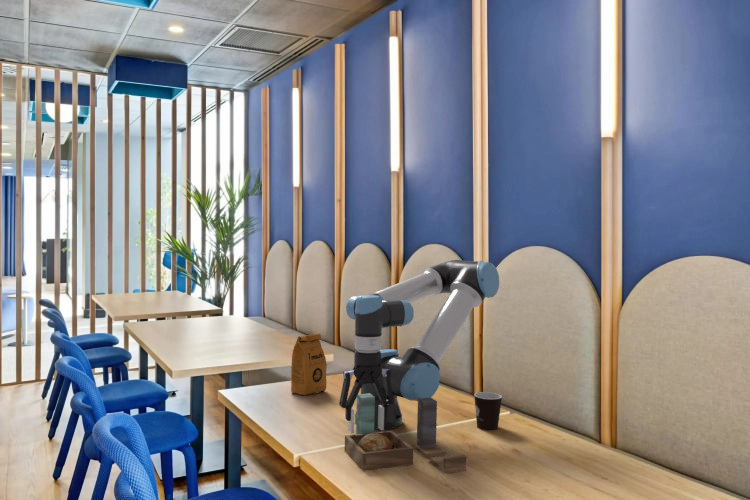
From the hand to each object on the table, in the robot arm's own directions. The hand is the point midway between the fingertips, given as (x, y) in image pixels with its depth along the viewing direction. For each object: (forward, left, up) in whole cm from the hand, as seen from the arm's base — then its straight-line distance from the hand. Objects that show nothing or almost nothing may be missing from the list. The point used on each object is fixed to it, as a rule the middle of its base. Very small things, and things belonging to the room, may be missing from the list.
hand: (366, 430), depth 173 cm
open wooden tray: (+7, 0, -4) cm, 8 cm away
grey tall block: (+10, +15, -4) cm, 19 cm away
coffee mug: (-6, +43, -5) cm, 44 cm away
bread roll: (+9, 0, -4) cm, 10 cm away
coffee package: (-61, -1, -5) cm, 61 cm away
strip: (+21, +15, -4) cm, 26 cm away
